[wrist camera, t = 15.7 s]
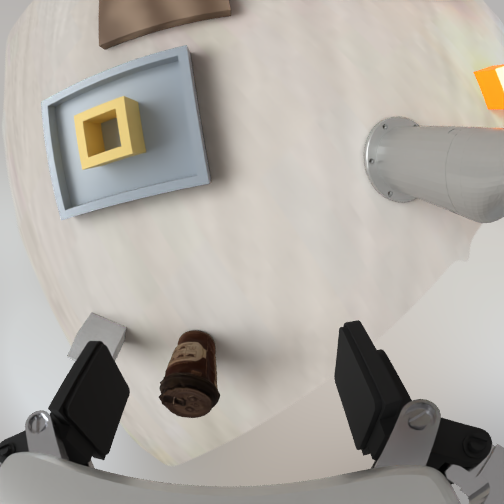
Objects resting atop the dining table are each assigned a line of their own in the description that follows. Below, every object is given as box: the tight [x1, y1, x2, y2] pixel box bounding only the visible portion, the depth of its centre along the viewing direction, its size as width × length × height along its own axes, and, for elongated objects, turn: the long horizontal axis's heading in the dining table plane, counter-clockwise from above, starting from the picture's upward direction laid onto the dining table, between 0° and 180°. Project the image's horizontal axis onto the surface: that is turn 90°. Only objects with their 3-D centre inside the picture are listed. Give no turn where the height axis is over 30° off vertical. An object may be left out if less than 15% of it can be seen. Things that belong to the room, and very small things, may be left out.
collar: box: [74, 96, 146, 170], centre depth 28 cm, size 7×7×5 cm
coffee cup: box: [159, 330, 220, 418], centre depth 38 cm, size 9×8×13 cm
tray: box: [41, 45, 211, 220], centre depth 30 cm, size 22×18×3 cm
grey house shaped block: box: [67, 313, 127, 361], centre depth 37 cm, size 4×7×10 cm, turn 67°
